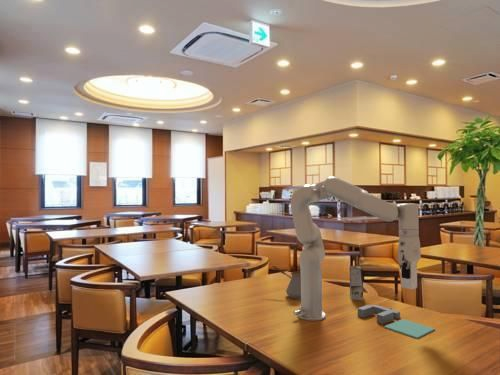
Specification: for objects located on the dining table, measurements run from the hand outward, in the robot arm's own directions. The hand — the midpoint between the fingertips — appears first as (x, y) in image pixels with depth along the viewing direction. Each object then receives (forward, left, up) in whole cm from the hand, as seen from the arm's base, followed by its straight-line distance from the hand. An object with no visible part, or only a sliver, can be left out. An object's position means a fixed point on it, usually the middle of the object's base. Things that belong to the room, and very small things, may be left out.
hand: (409, 276), depth 147 cm
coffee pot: (-7, +65, -22) cm, 69 cm away
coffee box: (+19, +40, -22) cm, 49 cm away
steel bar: (0, 0, -4) cm, 4 cm away
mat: (0, 0, -22) cm, 22 cm away
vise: (+4, +16, -22) cm, 27 cm away
